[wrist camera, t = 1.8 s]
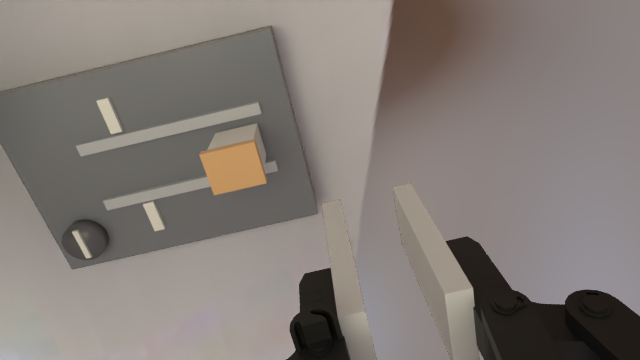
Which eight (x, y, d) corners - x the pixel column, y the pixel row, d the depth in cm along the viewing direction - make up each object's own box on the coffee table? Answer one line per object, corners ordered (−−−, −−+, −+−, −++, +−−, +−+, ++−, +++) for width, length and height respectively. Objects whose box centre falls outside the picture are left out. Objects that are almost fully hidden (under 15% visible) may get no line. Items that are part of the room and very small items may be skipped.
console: (82, 255, 37) (65, 278, 34) (-6, 93, 31) (-37, 104, 28) (316, 201, 36) (318, 221, 33) (271, 25, 30) (269, 30, 27)
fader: (224, 166, 32) (214, 195, 28) (211, 130, 31) (199, 154, 26) (269, 156, 32) (266, 183, 27) (259, 119, 30) (254, 141, 26)
